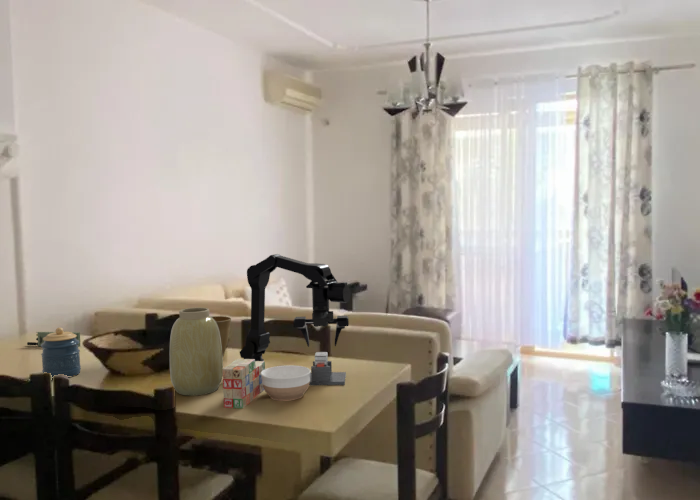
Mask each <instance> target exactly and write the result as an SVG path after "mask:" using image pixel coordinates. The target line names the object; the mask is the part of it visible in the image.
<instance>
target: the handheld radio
mask: <svg viewBox="0 0 700 500" xmlns="http://www.w3.org/2000/svg"><path fill="white" fill-rule="evenodd" d="M55 332H56V331H36V332H35V333H36V339H35V340H36V341H37V342H34V341H33V342H29V341H28V342H27V343H26V345H27V346H37V347H39V348H40V347H41V344H42V343H44V340H43V338H44V337H46V336H47V335H48V334H50V333H55ZM71 332H72V333H73V334H75V335H77V336H76V337H75V338H76V339H77V340H78V341H79V344H78V348H80V347H81V332H77V331H71ZM41 348H42V347H41Z"/></svg>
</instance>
